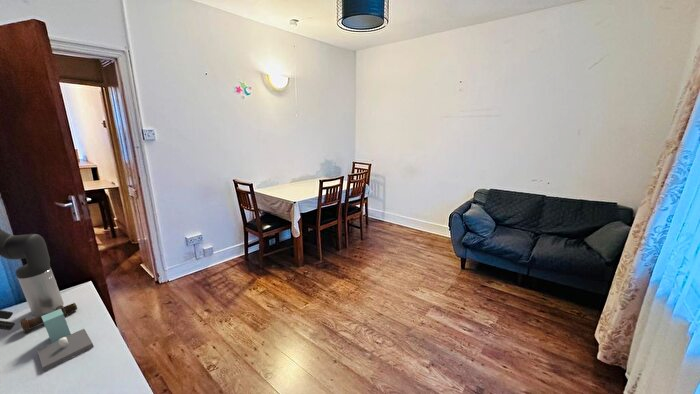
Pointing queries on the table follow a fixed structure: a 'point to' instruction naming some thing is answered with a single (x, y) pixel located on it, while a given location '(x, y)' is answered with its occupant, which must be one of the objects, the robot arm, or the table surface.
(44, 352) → the base plate
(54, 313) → the block
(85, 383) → the table surface
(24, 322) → the bolt
